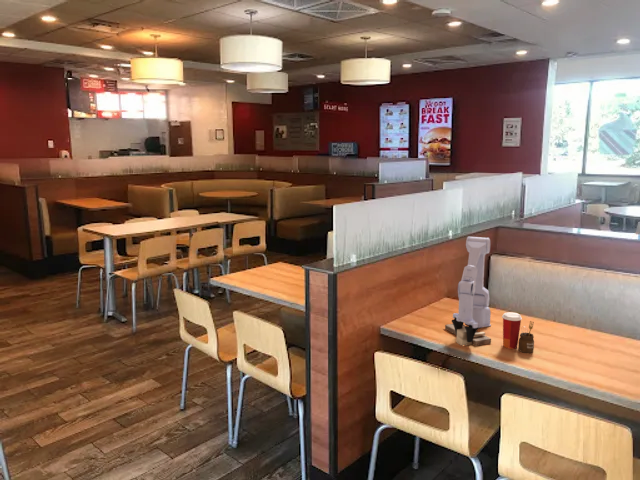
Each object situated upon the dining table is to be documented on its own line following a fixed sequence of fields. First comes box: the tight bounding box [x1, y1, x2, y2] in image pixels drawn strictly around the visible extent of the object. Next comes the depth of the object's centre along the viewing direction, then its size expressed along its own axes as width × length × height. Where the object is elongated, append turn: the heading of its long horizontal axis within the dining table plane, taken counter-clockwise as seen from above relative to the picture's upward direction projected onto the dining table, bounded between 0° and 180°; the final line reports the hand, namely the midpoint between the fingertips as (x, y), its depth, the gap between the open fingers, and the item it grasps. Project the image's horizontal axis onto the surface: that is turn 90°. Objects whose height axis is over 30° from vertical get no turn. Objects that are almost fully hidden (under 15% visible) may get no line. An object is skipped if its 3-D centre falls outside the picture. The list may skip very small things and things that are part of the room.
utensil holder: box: [517, 320, 535, 354], centre depth 210 cm, size 6×6×12 cm
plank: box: [444, 323, 492, 346], centre depth 228 cm, size 8×22×2 cm, turn 21°
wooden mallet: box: [455, 328, 486, 347], centre depth 220 cm, size 13×4×6 cm, turn 111°
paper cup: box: [501, 311, 523, 350], centre depth 214 cm, size 8×8×14 cm
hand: (464, 338), depth 219 cm, fingers open, 7 cm apart
